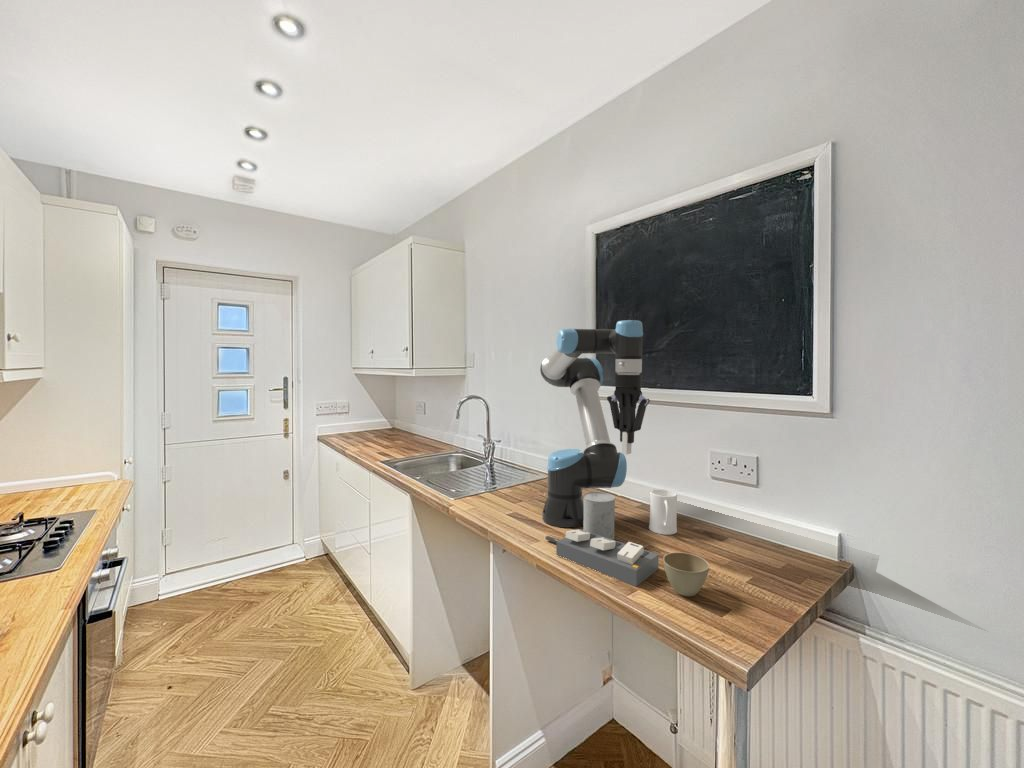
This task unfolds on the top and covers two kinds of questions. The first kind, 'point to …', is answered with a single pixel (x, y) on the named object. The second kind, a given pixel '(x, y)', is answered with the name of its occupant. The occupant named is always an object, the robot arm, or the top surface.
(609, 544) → the block
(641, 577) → the power strip
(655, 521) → the mug
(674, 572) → the flower pot
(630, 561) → the rocker
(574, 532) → the rocker
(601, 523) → the grey concrete cylinder
